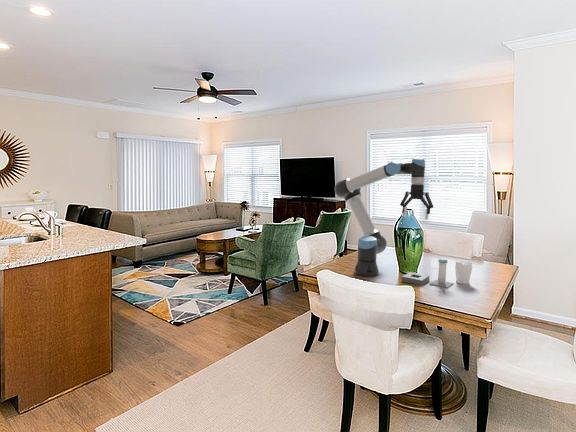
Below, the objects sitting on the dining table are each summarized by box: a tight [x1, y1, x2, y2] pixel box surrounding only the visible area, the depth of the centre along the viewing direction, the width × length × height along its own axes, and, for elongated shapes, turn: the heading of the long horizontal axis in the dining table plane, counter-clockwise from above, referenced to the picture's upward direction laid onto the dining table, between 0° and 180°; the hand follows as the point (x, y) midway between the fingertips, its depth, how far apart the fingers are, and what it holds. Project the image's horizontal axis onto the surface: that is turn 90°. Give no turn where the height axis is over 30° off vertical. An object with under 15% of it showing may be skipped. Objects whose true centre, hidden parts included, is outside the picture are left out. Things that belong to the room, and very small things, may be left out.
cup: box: [454, 260, 473, 285], centre depth 215 cm, size 9×9×12 cm
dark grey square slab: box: [401, 271, 430, 286], centre depth 218 cm, size 12×12×3 cm
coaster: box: [429, 279, 454, 289], centre depth 212 cm, size 10×10×1 cm
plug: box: [437, 258, 448, 284], centre depth 211 cm, size 5×5×14 cm
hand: (415, 218), depth 225 cm, fingers open, 13 cm apart
